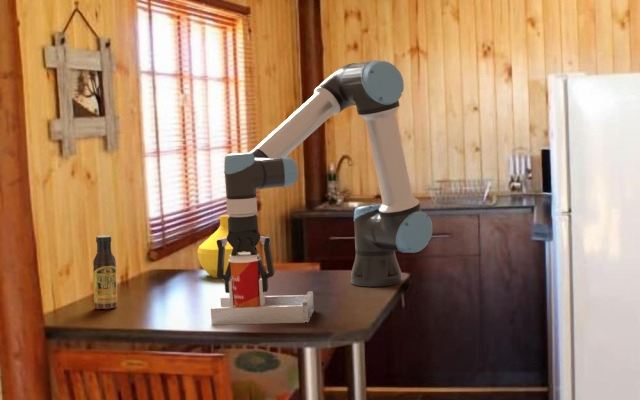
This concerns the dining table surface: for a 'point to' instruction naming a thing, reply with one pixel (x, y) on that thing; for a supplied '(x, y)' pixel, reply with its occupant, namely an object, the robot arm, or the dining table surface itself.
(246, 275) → the coffee cup
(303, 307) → the channel
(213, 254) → the vase
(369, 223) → the robot arm
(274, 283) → the dining table surface
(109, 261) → the sauce bottle
